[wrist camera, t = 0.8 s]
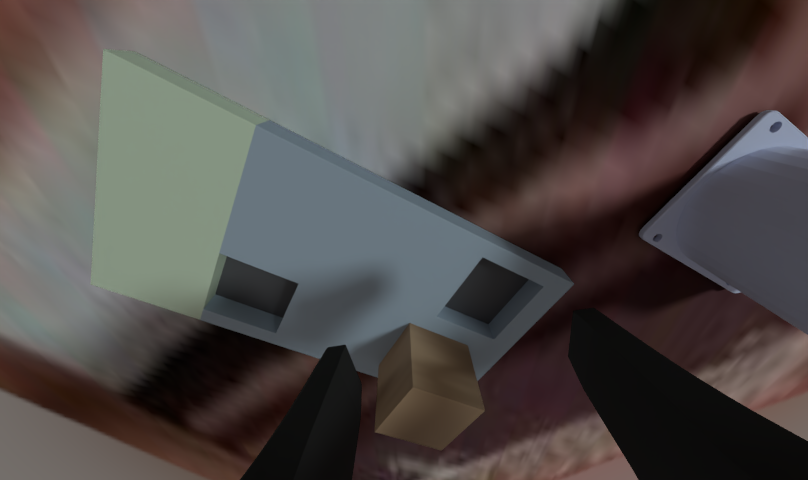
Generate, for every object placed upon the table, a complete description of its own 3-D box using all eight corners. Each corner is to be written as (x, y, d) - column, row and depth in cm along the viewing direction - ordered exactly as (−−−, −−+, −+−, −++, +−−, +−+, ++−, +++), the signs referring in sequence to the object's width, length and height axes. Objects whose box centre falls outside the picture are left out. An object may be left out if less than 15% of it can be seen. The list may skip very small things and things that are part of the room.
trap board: (561, 268, 19) (574, 284, 18) (452, 384, 25) (455, 403, 23) (134, 51, 13) (103, 48, 12) (113, 268, 19) (90, 284, 17)
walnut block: (467, 345, 20) (484, 410, 16) (433, 383, 22) (441, 450, 18) (409, 322, 19) (412, 387, 15) (378, 365, 21) (374, 431, 17)
